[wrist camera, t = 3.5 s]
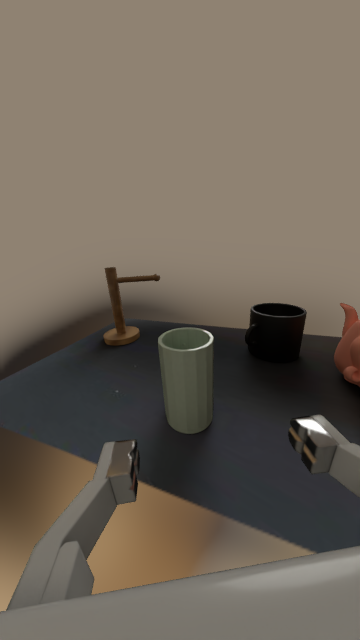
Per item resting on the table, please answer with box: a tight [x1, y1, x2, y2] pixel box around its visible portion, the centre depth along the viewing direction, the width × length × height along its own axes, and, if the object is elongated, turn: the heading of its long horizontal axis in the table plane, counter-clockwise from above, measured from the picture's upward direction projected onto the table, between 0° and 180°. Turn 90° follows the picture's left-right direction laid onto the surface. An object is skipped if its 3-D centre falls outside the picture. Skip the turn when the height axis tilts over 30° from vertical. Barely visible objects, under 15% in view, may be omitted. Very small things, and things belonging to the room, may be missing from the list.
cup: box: [158, 328, 214, 434], centre depth 25 cm, size 10×6×11 cm, turn 5°
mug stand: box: [104, 267, 160, 346], centre depth 46 cm, size 16×9×18 cm, turn 95°
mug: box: [245, 303, 307, 363], centre depth 36 cm, size 9×12×9 cm
